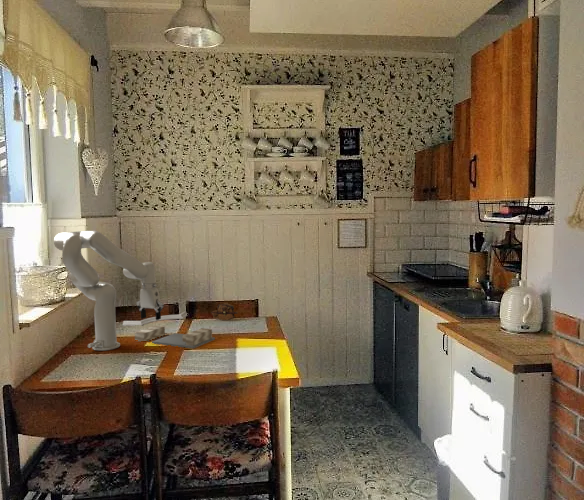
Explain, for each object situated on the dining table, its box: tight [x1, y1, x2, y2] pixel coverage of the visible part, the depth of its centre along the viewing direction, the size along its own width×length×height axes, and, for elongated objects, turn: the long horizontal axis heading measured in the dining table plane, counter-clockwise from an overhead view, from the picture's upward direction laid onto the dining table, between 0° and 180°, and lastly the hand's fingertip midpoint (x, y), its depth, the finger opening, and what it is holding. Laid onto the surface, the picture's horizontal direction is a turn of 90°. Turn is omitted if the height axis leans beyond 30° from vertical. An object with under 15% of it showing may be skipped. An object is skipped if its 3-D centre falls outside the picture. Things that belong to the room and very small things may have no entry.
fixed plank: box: [182, 327, 213, 346], centre depth 245 cm, size 16×6×4 cm, turn 155°
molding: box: [122, 310, 188, 327], centre depth 299 cm, size 42×12×3 cm, turn 130°
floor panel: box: [151, 332, 216, 349], centre depth 249 cm, size 18×25×1 cm
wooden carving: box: [210, 302, 238, 321], centre depth 296 cm, size 16×5×10 cm, turn 77°
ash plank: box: [134, 325, 167, 342], centre depth 258 cm, size 16×7×4 cm, turn 155°
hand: (151, 318), depth 258 cm, fingers open, 9 cm apart
